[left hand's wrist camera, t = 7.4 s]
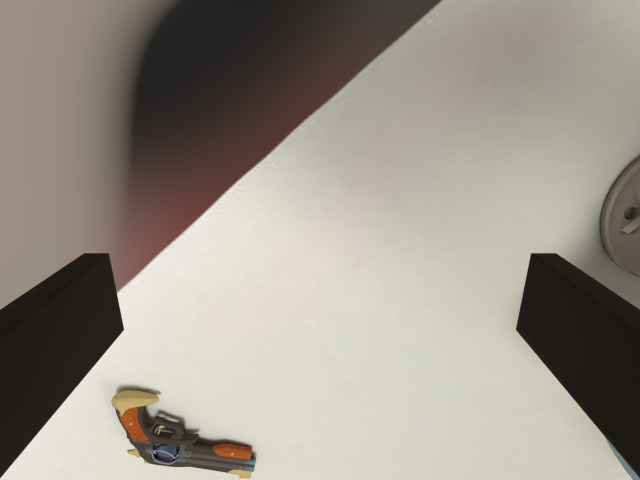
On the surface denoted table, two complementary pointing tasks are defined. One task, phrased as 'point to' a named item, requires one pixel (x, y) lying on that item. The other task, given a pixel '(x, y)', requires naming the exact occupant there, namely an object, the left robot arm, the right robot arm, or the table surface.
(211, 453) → the toy gun
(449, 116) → the table surface
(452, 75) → the table surface
